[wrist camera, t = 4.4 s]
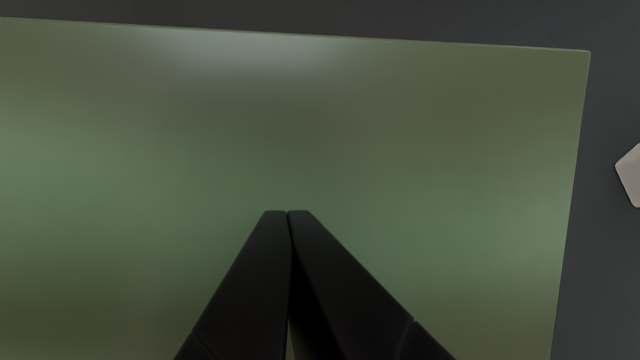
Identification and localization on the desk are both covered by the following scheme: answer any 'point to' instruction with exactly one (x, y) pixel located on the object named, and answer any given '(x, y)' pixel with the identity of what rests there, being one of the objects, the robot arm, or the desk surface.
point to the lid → (277, 178)
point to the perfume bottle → (631, 174)
